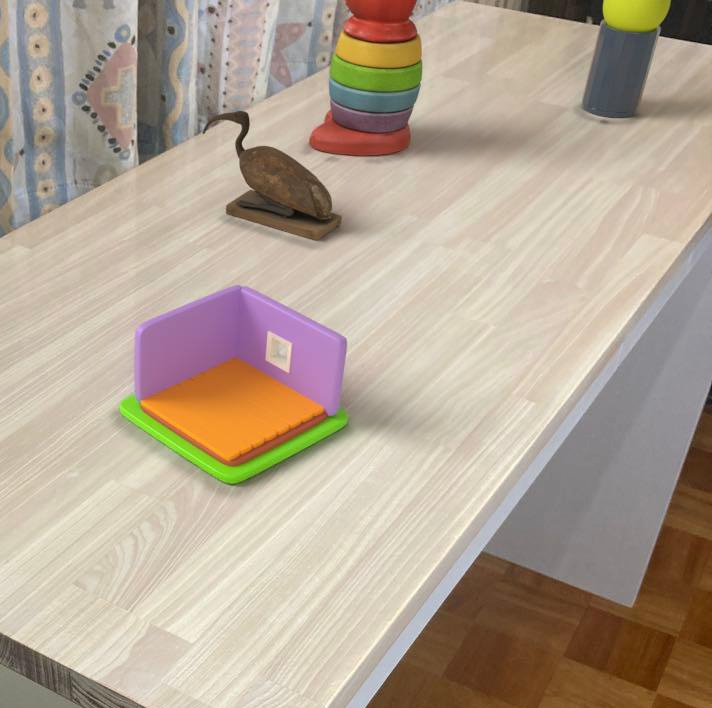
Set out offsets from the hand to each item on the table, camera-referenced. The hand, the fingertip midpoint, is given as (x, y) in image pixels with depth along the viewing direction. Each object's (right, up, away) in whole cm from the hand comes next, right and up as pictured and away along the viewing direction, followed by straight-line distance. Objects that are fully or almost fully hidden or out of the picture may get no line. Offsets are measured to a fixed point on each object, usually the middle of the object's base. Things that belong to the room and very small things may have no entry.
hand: (632, 17), depth 123 cm
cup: (0, -7, +6) cm, 10 cm away
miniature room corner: (-46, -48, -44) cm, 80 cm away
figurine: (-42, -26, -18) cm, 52 cm away
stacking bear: (-30, -14, -3) cm, 33 cm away
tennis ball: (0, +1, -1) cm, 2 cm away
